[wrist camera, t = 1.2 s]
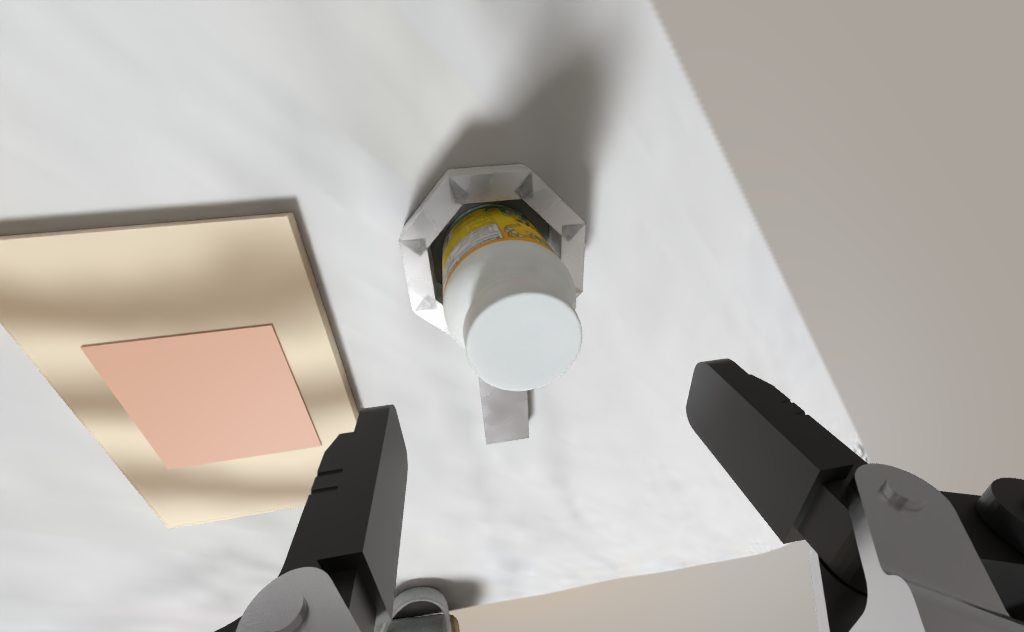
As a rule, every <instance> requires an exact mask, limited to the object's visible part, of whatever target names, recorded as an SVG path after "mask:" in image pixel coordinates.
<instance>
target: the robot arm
mask: <svg viewBox="0 0 1024 632" xmlns="http://www.w3.org/2000/svg"><path fill="white" fill-rule="evenodd" d="M686 413H687V417H688V420H689V423H690V425H691V427H692V428H693V430H694V431H695V432H696V434H697V435H698V436H699V437H700V439H701V440H702V441H703V442H704V444H705V445H706V446H707V447H708V449H709V450H710V451H711V453H712V454H713V455H714V456H715V458H716V459H717V460H718V461H719V463H720V464H721V465H722V466H723V468H724V469H725V470H726V472H727V473H728V474H729V475H730V477H731V478H732V479H733V480H734V482H735V483H736V484H737V485H738V487H739V488H740V489H741V491H742V492H743V493H744V494H745V496H746V497H747V498H748V499H749V501H750V502H751V503H752V504H753V506H754V507H755V508H756V510H757V511H758V512H759V513H760V515H761V516H762V517H763V518H764V520H765V521H766V522H767V523H768V525H769V526H770V527H771V529H772V530H773V531H774V532H775V534H776V535H777V536H778V537H779V539H780V540H781V541H782V542H783V544H785V543H790V542H795V541H800V540H804V539H805V540H806V541H807V542H808V543H809V544H810V546H811V547H812V549H811V551H810V554H809V563H810V571H811V578H812V586H813V593H814V600H815V608H816V615H817V623H818V630H819V632H1024V480H1022V479H1016V478H1000V479H997V480H995V481H994V482H993V483H992V484H991V485H990V486H989V487H988V488H987V490H986V491H985V492H984V493H983V494H982V496H977V495H969V494H960V493H952V492H943V491H938V490H937V489H936V488H934V487H933V486H932V485H930V484H929V483H927V482H926V481H924V480H922V479H921V478H919V477H917V476H915V475H913V474H911V473H909V472H906V471H904V470H901V469H898V468H895V467H892V466H888V465H884V464H868V463H867V462H865V461H864V460H863V459H862V458H860V457H859V456H858V455H857V454H855V453H854V452H853V451H852V450H851V449H849V448H848V447H847V446H846V445H845V444H843V443H842V442H841V441H840V440H838V439H837V438H836V437H835V436H834V435H832V434H831V433H830V432H829V431H828V430H826V429H825V428H824V427H823V426H821V425H820V424H819V423H818V422H817V421H815V420H814V419H813V418H812V417H811V416H809V415H805V411H803V410H802V409H801V408H800V407H798V406H797V405H796V404H795V403H791V402H790V399H789V398H788V397H786V396H785V395H784V394H783V393H781V392H780V391H779V390H778V389H777V388H775V387H774V386H773V385H771V384H769V383H767V382H765V381H763V380H761V379H759V378H757V377H755V376H753V375H749V374H748V373H747V372H745V371H744V370H743V369H742V368H741V367H740V366H738V365H737V364H736V363H735V362H734V361H732V360H730V359H719V360H712V361H705V362H700V363H698V364H697V365H696V367H695V369H694V373H693V378H692V382H691V387H690V391H689V396H688V400H687V405H686ZM407 471H408V463H407V452H406V447H405V443H404V439H403V435H402V431H401V427H400V424H399V420H398V416H397V412H396V409H395V406H394V405H385V406H378V407H371V408H364V409H361V411H360V413H359V416H358V419H357V423H356V426H355V429H354V432H349V433H342V434H339V435H338V436H337V438H336V439H335V440H334V441H333V442H332V444H331V445H330V446H329V447H328V449H327V450H326V451H325V452H324V455H323V457H322V460H321V463H320V466H319V468H318V471H317V477H315V480H314V482H313V485H312V488H311V494H310V495H309V496H308V499H307V502H306V505H305V507H304V510H303V513H302V516H301V518H300V521H299V524H298V527H297V530H296V532H295V535H294V538H293V541H292V543H291V546H290V549H289V552H288V555H287V557H286V560H285V563H284V565H283V568H282V570H281V572H280V574H279V576H278V578H276V579H275V580H273V581H272V582H271V583H269V584H268V585H267V586H266V587H264V588H263V589H262V590H261V591H260V592H259V593H258V594H257V596H256V597H255V598H254V599H253V600H252V602H251V603H250V604H249V606H248V607H247V609H246V610H245V612H244V614H243V615H242V616H241V617H240V618H238V619H237V620H235V621H234V622H232V623H230V624H228V625H227V626H225V627H223V628H221V629H219V630H217V631H215V632H374V627H375V625H377V624H382V623H387V622H392V613H393V604H394V594H395V585H396V576H397V566H398V557H399V547H400V538H401V529H402V519H403V510H404V501H405V491H406V482H407Z"/></svg>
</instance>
